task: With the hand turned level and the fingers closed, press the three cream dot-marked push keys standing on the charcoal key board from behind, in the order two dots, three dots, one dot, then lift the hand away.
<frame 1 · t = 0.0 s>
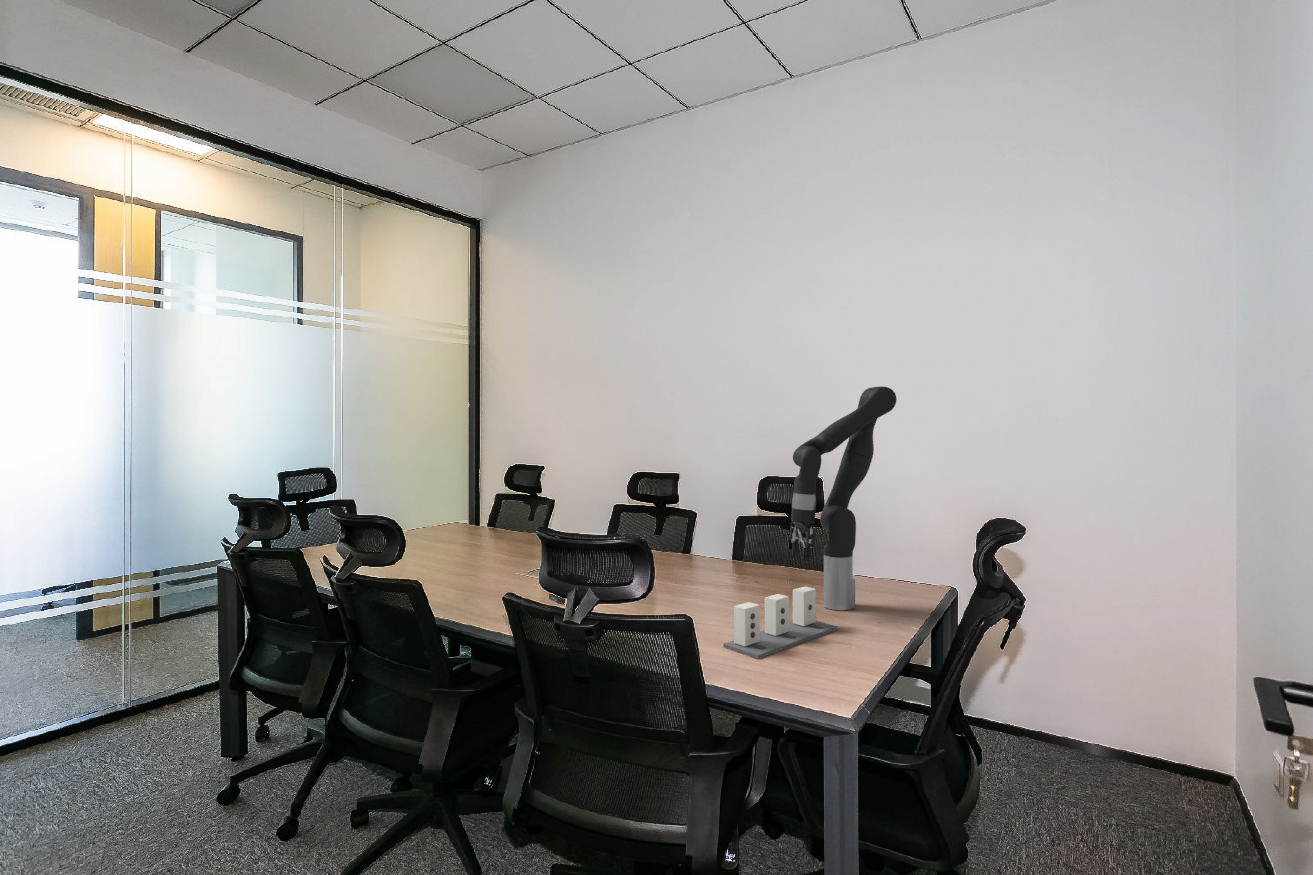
hand: (800, 557, 213), 17 cm above the table, tool pointing down, fingers open, 8 cm apart
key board: (776, 636, 186), on the table
key one dot: (804, 605, 195), point 6 cm above the table, slide at 0.0 cm
media streaming box: (573, 599, 229), on the table
key two dots: (777, 614, 186), point 6 cm above the table, slide at 0.0 cm
key three dots: (747, 623, 178), point 6 cm above the table, slide at 0.0 cm
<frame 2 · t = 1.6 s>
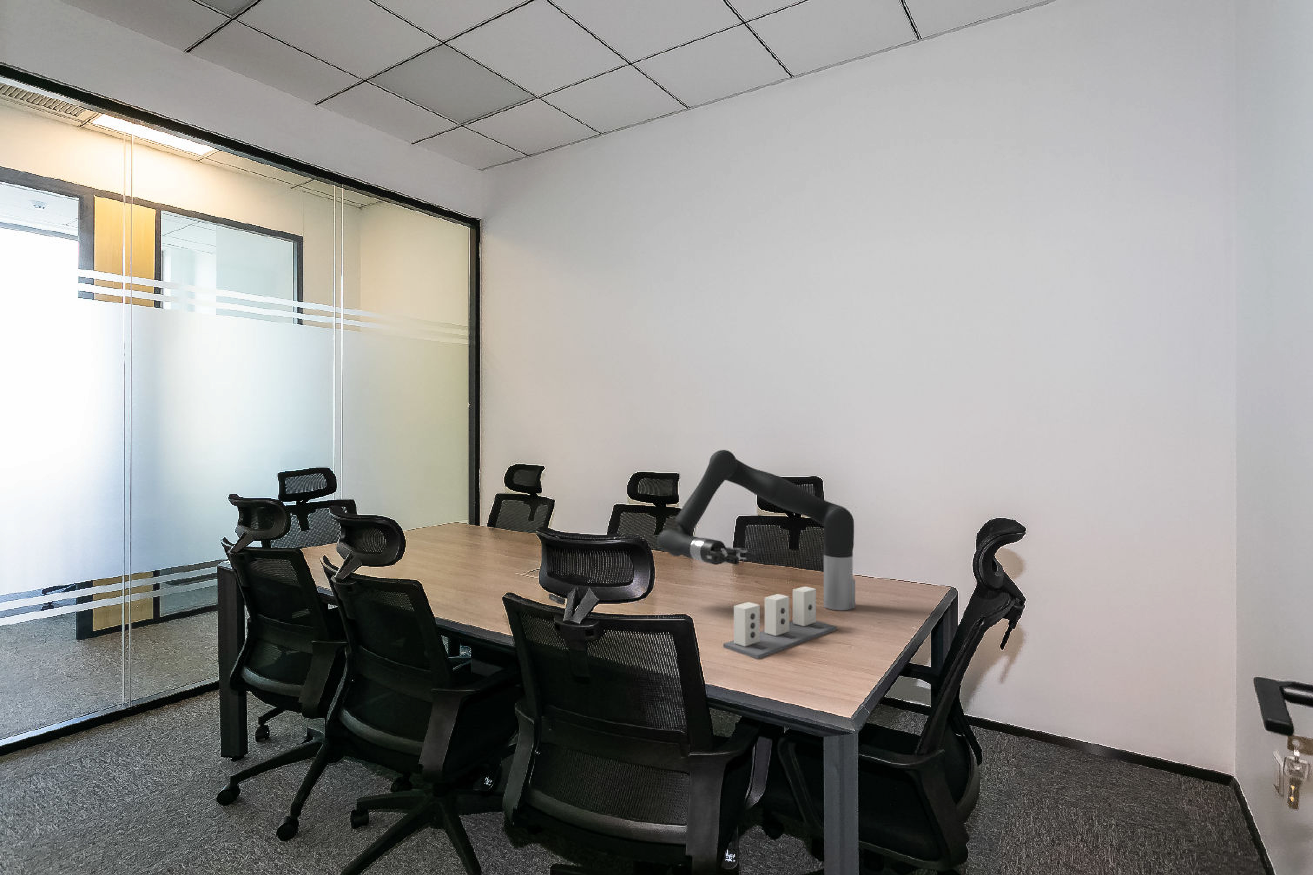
hand: (747, 559, 194), 20 cm above the table, tool horizontal, fingers open, 7 cm apart
nothing on the table moved.
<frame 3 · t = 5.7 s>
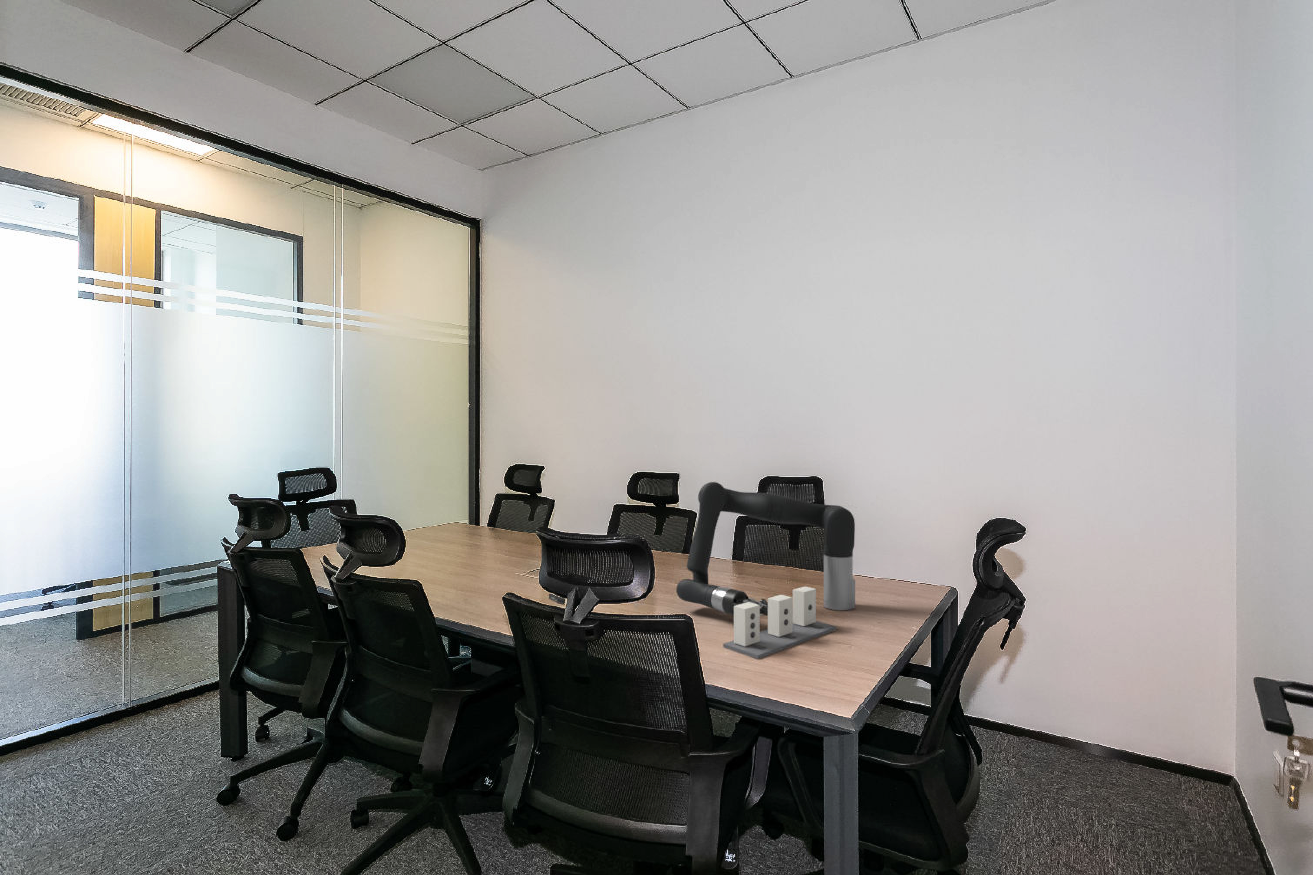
hand: (774, 613, 187), 6 cm above the table, tool horizontal, fingers closed
key two dots: (780, 615, 185), point 6 cm above the table, slide at 1.2 cm, touching gripper
everything else where it was.
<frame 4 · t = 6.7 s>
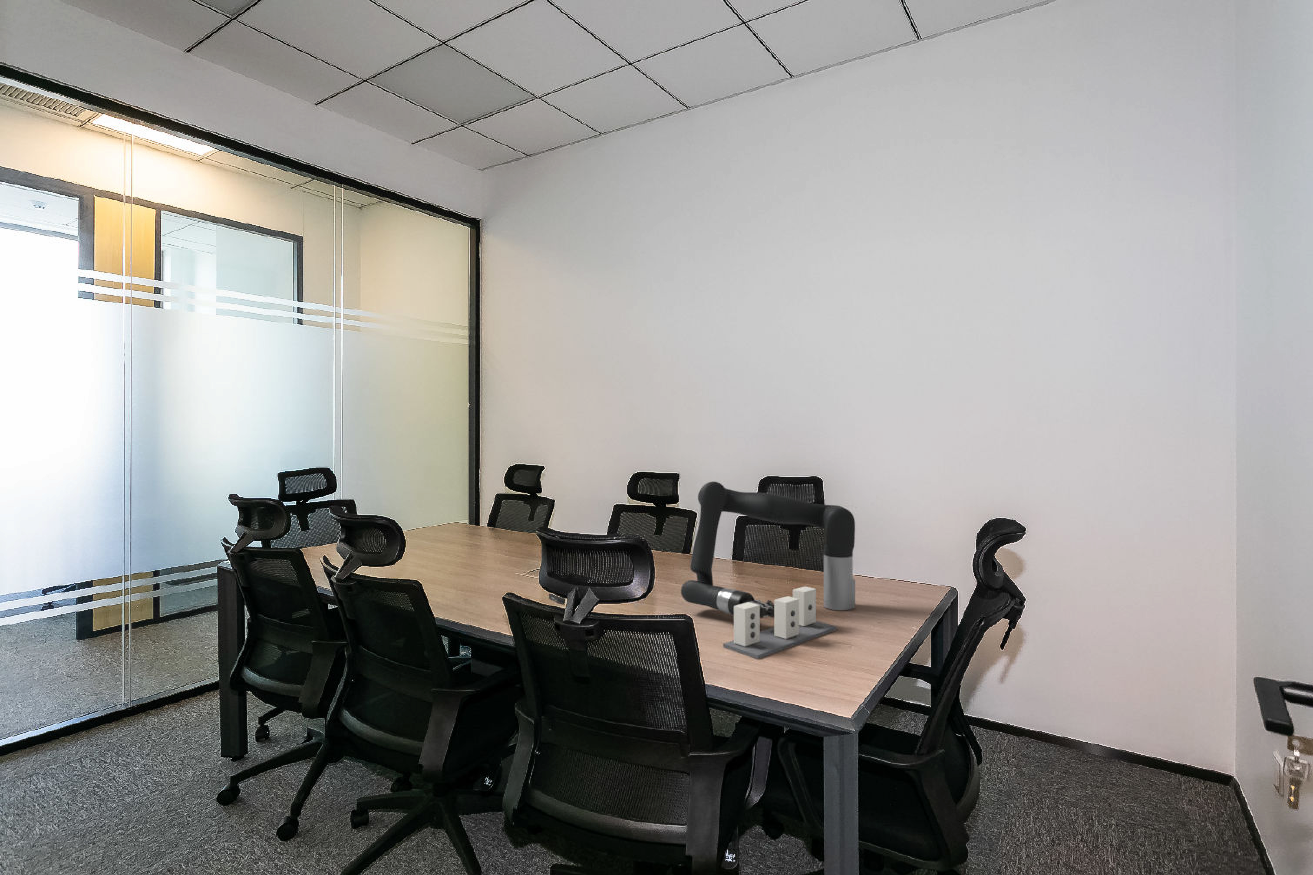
hand: (781, 614, 185), 6 cm above the table, tool horizontal, fingers closed
key two dots: (787, 617, 183), point 6 cm above the table, slide at 3.5 cm, touching gripper
everything else where it was.
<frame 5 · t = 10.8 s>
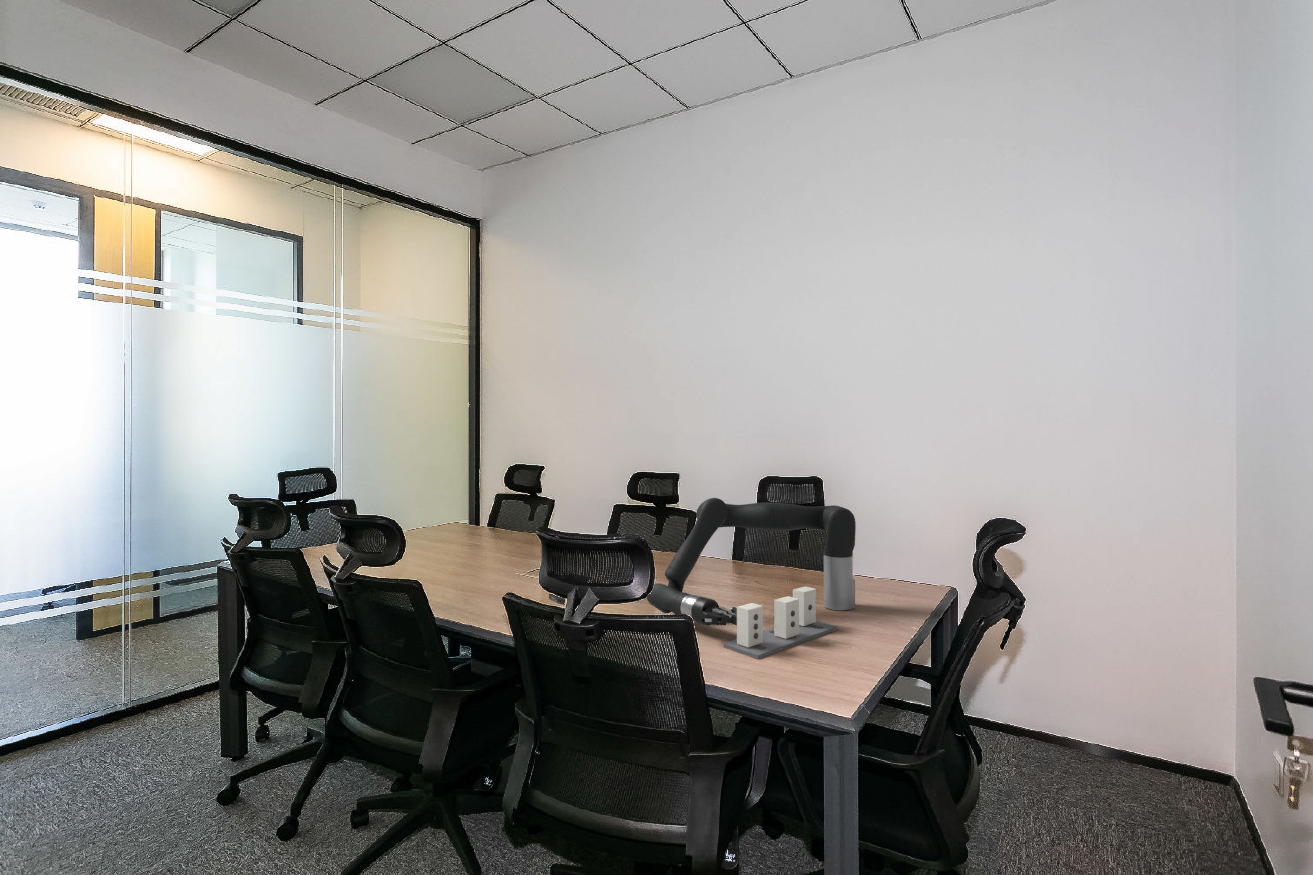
hand: (744, 622, 178), 6 cm above the table, tool horizontal, fingers closed
key two dots: (787, 617, 183), point 6 cm above the table, slide at 3.5 cm
key three dots: (750, 624, 177), point 6 cm above the table, slide at 1.1 cm, touching gripper
everything else where it was.
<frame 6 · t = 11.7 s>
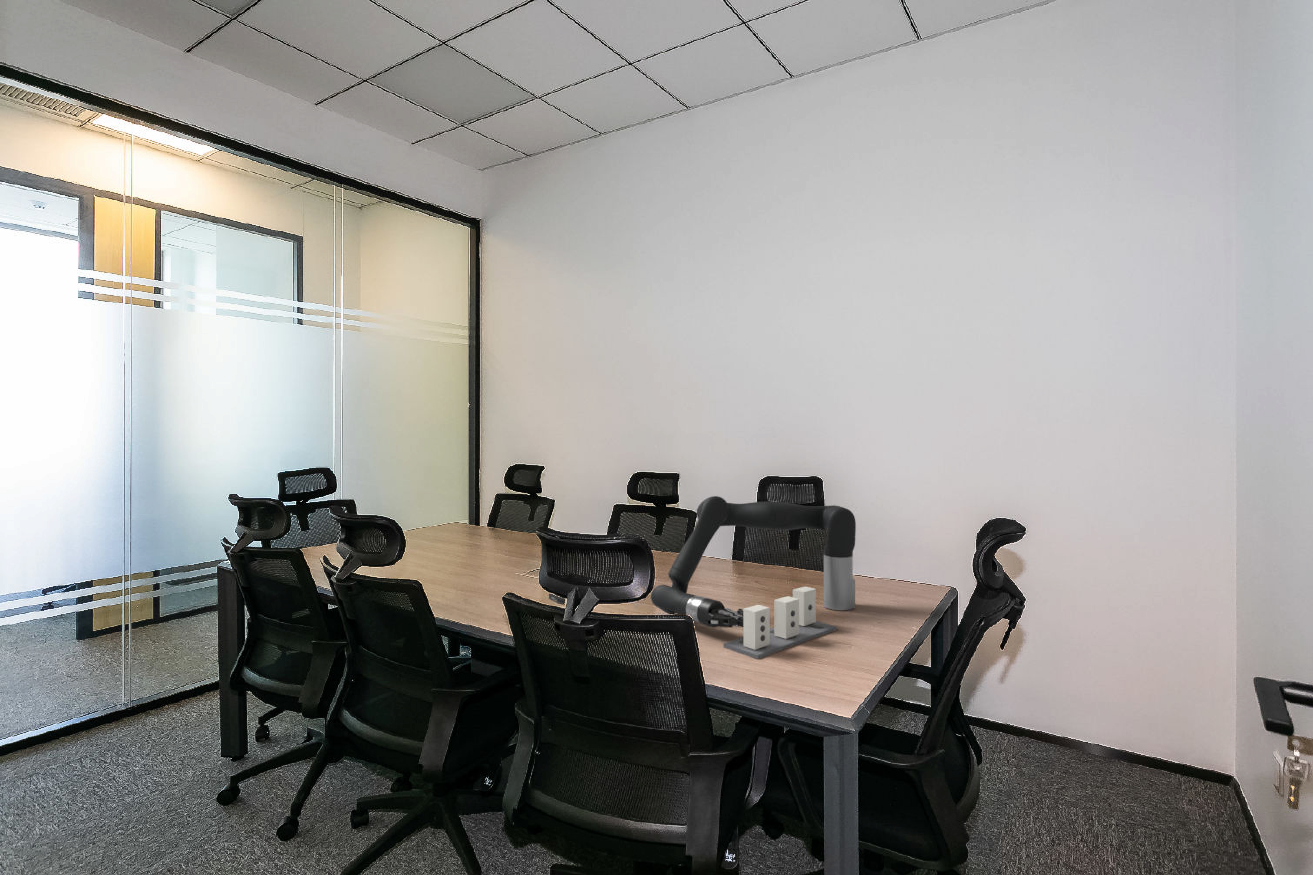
hand: (750, 624, 177), 6 cm above the table, tool horizontal, fingers closed
key three dots: (756, 626, 175), point 6 cm above the table, slide at 3.4 cm, touching gripper
everything else where it was.
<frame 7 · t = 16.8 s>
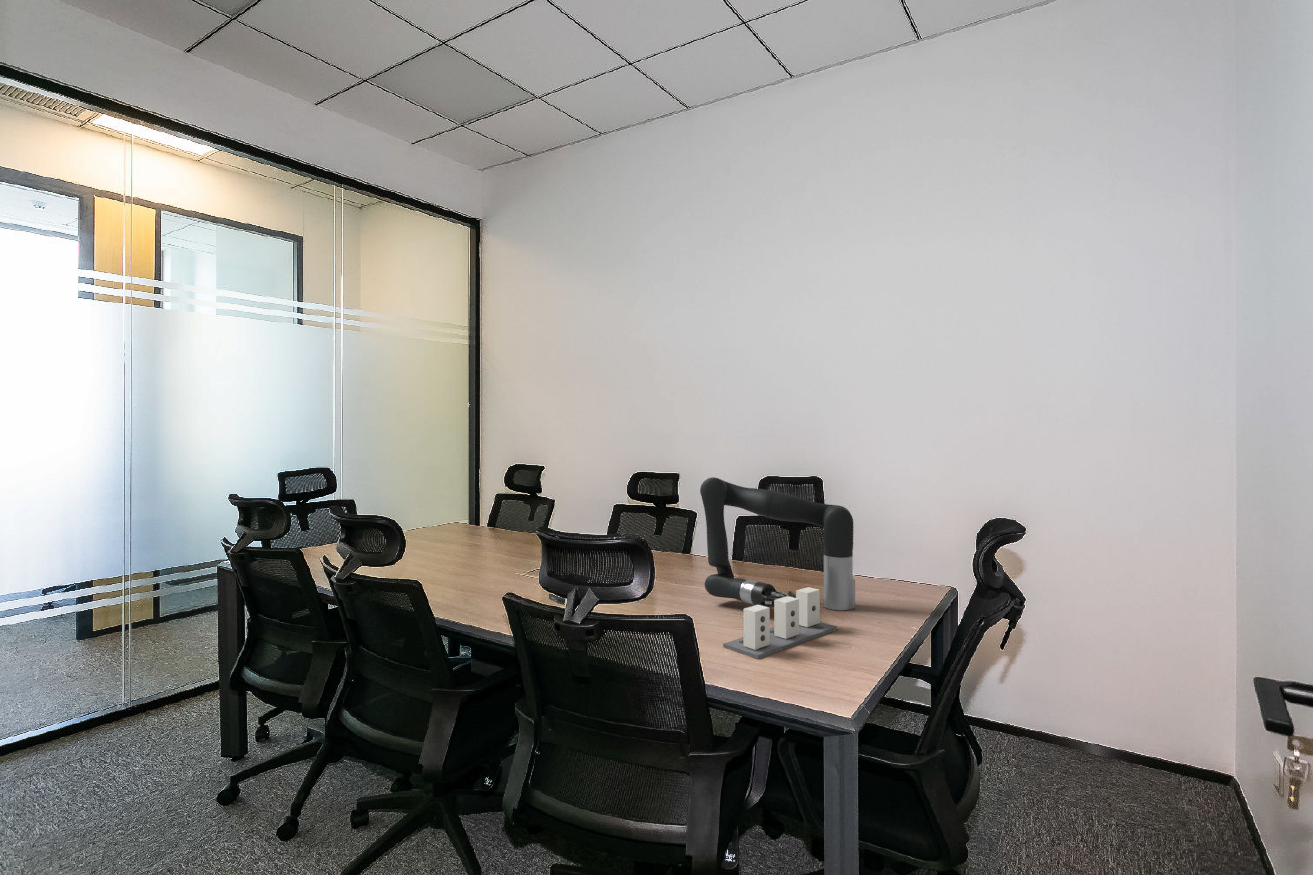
hand: (802, 604, 195), 7 cm above the table, tool horizontal, fingers closed
key one dot: (808, 606, 194), point 6 cm above the table, slide at 1.3 cm, touching gripper
key three dots: (756, 626, 175), point 6 cm above the table, slide at 3.5 cm
everything else where it was.
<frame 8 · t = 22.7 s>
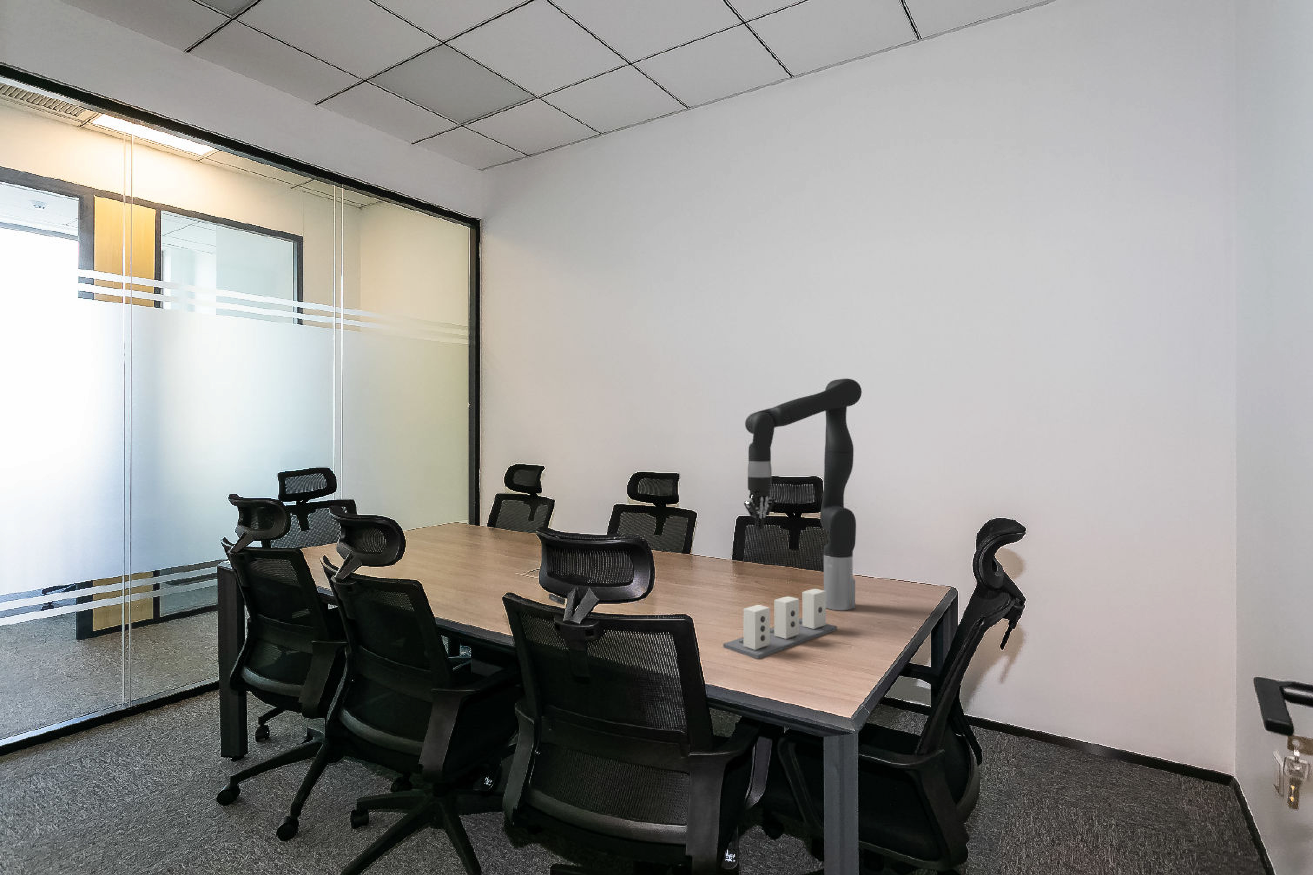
hand: (759, 529, 208), 27 cm above the table, tool pointing down, fingers closed
key one dot: (814, 608, 192), point 6 cm above the table, slide at 3.5 cm
everything else where it was.
at the end: key two dots slide at 3.5 cm; key three dots slide at 3.5 cm; key one dot slide at 3.5 cm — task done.
